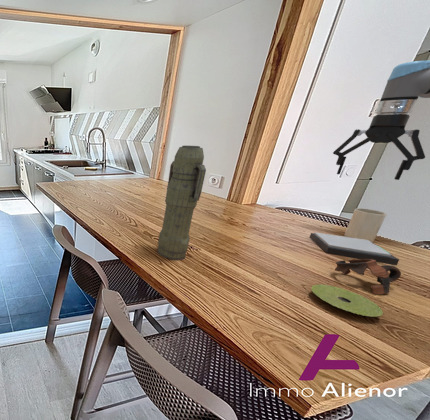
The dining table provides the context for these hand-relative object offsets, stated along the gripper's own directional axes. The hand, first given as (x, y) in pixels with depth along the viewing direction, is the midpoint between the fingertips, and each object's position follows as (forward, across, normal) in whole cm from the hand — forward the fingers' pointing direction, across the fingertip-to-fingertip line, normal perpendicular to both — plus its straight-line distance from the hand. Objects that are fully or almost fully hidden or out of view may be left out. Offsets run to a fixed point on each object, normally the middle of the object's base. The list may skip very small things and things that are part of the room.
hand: (365, 176), depth 89 cm
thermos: (+24, -38, -67) cm, 80 cm away
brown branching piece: (+24, +4, -43) cm, 50 cm away
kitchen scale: (+24, +2, -16) cm, 29 cm away
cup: (+24, +4, +2) cm, 24 cm away
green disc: (+24, 0, -61) cm, 65 cm away
